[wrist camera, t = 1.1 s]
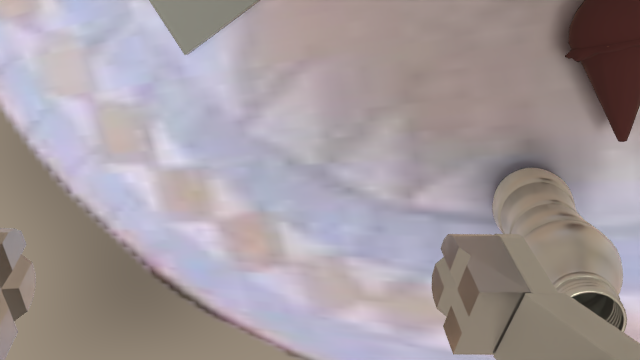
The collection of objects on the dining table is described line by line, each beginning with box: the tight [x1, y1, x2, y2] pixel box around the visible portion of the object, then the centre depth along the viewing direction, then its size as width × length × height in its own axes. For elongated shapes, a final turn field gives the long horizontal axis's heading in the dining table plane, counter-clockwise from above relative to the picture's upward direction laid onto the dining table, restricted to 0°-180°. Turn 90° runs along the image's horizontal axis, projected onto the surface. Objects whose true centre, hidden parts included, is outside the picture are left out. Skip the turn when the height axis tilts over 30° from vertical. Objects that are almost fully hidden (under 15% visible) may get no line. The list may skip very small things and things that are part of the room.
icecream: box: [565, 0, 640, 142], centre depth 37 cm, size 7×7×15 cm
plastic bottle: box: [492, 168, 627, 332], centre depth 36 cm, size 6×7×20 cm
